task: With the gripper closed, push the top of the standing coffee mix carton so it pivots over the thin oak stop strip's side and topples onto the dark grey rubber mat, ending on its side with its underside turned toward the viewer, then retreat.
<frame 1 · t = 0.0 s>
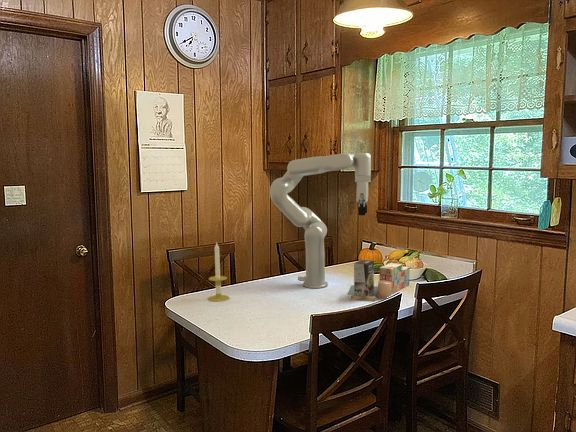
hand: (362, 214, 235), 37 cm above the table, tool pointing down, fingers open, 9 cm apart
stop strip: (362, 300, 218), on the table
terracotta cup: (383, 296, 222), on the table, tilted 6°
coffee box: (364, 296, 224), on the table, touching mat
stack of blocks: (394, 289, 235), on the table, touching mat
mat: (366, 291, 233), on the table
candle: (218, 298, 225), on the table
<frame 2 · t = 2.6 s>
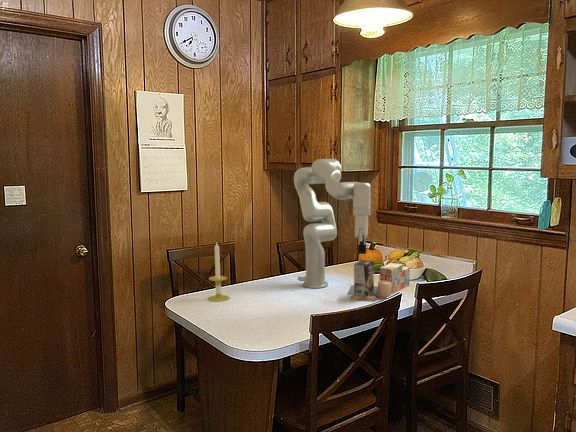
hand: (362, 253, 210), 23 cm above the table, tool pointing down, fingers closed
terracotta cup: (383, 296, 222), on the table, tilted 5°, touching mat
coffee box: (364, 296, 224), on the table, touching mat
everything else where it was.
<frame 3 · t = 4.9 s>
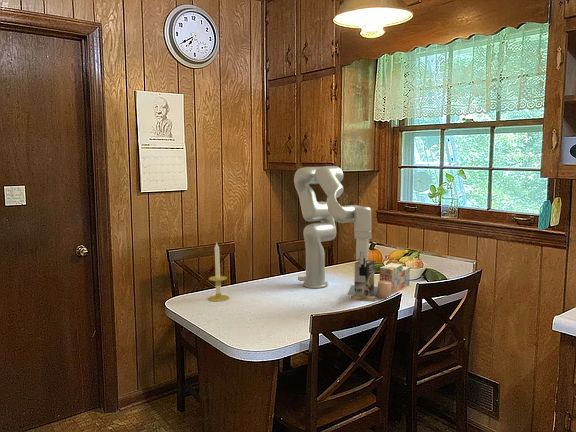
hand: (363, 275, 215), 12 cm above the table, tool pointing down, fingers closed
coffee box: (364, 296, 224), on the table, touching gripper, mat
everything else where it was.
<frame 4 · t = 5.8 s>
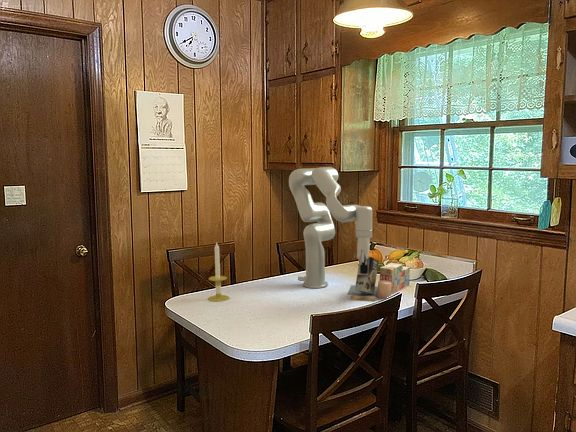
hand: (363, 273, 220), 12 cm above the table, tool pointing down, fingers closed
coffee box: (364, 292, 224), point 2 cm above the table, touching mat
everything else where it was.
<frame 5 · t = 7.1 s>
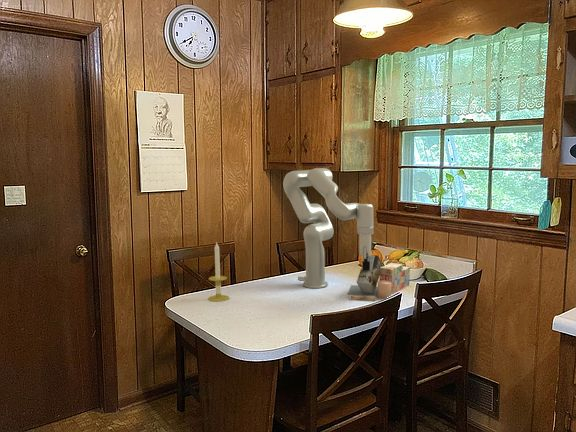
hand: (366, 269, 225), 12 cm above the table, tool pointing down, fingers closed
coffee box: (365, 288, 224), point 3 cm above the table, touching gripper, mat
everything else where it was.
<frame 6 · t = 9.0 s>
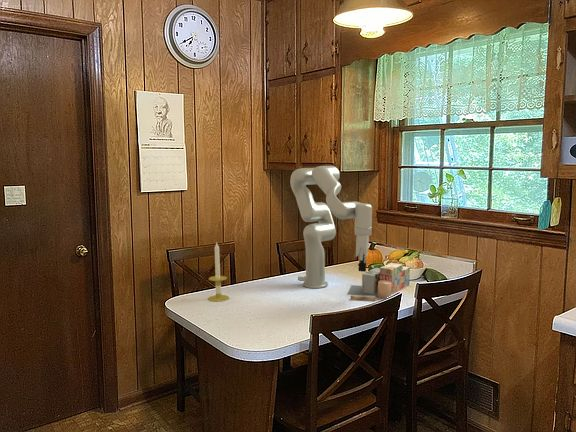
hand: (362, 270, 218), 13 cm above the table, tool pointing down, fingers closed
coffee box: (367, 284, 226), point 5 cm above the table, touching mat
everything else where it was.
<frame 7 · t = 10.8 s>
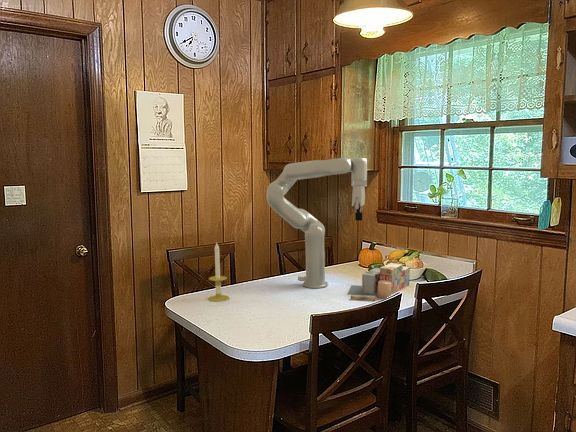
hand: (358, 220, 238), 33 cm above the table, tool pointing down, fingers closed
nothing on the table moved.
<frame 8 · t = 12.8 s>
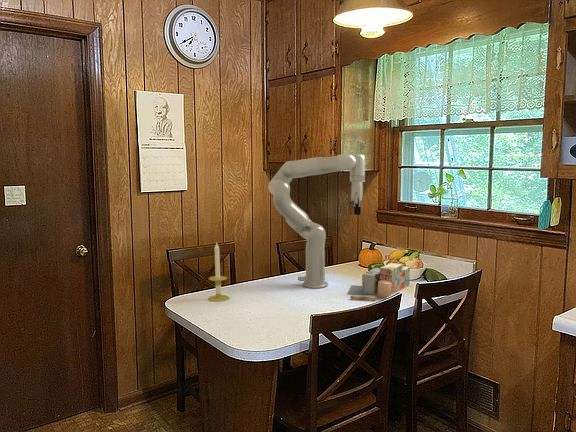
hand: (357, 214, 247), 35 cm above the table, tool pointing down, fingers closed
nothing on the table moved.
at the end: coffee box tilted 89°; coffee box inside the target area (4.3 cm from its centre), point 4.8 cm above the table; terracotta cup moved 0.3 cm from its start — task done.
